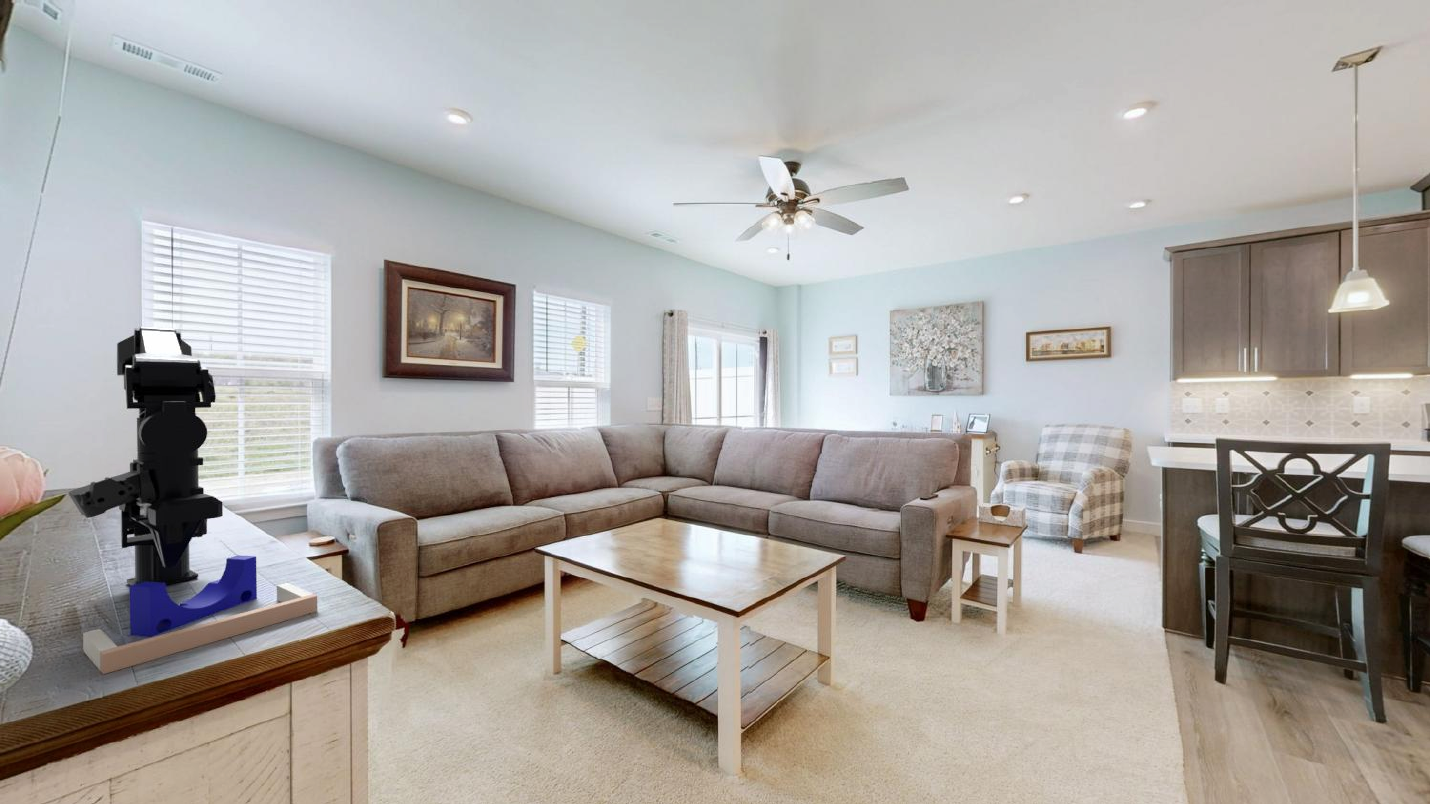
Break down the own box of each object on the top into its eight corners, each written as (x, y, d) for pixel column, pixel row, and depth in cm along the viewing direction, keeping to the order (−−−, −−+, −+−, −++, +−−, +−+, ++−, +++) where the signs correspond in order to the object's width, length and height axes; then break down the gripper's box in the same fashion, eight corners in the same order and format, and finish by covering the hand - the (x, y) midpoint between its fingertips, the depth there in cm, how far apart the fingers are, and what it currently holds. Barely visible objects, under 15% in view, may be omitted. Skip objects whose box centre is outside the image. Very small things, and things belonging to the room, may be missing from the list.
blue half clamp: (229, 597, 74) (229, 554, 74) (256, 599, 74) (256, 556, 73) (120, 636, 62) (119, 585, 62) (150, 639, 62) (150, 587, 62)
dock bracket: (83, 651, 58) (83, 632, 58) (287, 597, 74) (287, 582, 74) (103, 674, 53) (102, 654, 53) (317, 611, 69) (317, 595, 69)
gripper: (60, 452, 70) (62, 571, 70) (93, 462, 60) (95, 600, 60) (178, 445, 79) (180, 550, 80) (223, 453, 69) (224, 572, 70)
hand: (170, 566), depth 72 cm, fingers closed
